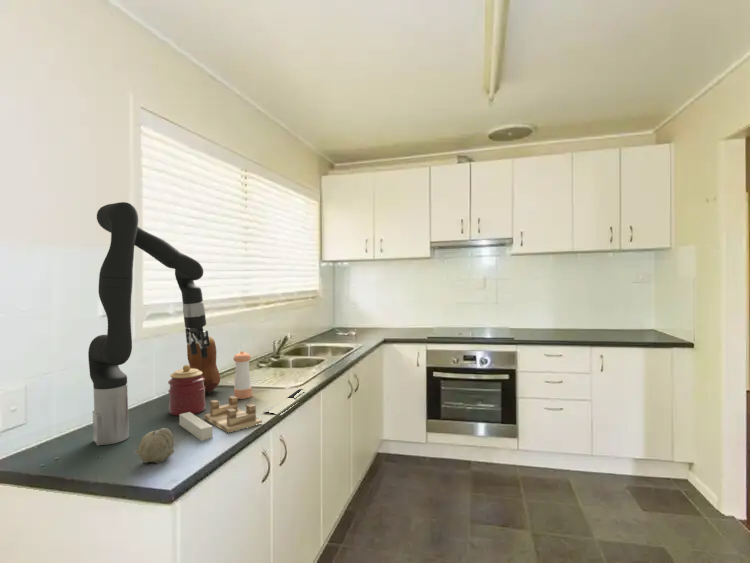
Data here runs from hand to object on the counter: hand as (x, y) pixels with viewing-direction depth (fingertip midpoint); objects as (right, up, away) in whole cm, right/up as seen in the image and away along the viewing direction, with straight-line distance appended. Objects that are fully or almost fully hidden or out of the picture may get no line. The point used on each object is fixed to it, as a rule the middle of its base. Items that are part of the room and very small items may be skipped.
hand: (199, 356), depth 170 cm
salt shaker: (+11, -20, +18) cm, 30 cm away
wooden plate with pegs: (+17, -21, -13) cm, 30 cm away
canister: (-4, -21, 0) cm, 22 cm away
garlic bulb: (+6, -22, -45) cm, 51 cm away
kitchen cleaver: (+33, -21, +9) cm, 40 cm away
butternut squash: (-8, -21, +24) cm, 32 cm away
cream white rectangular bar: (+7, -22, -22) cm, 32 cm away
